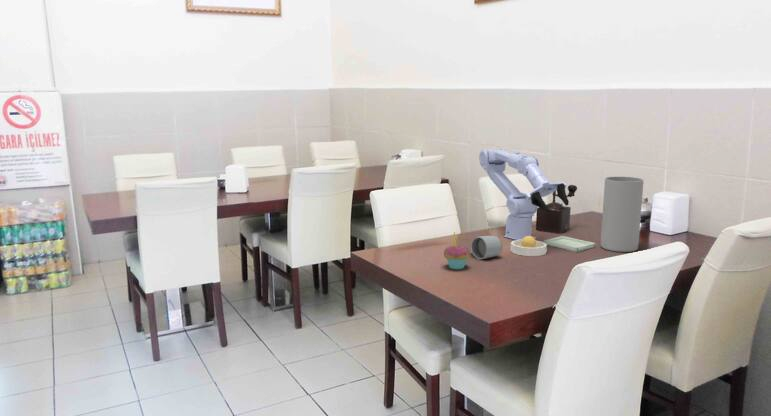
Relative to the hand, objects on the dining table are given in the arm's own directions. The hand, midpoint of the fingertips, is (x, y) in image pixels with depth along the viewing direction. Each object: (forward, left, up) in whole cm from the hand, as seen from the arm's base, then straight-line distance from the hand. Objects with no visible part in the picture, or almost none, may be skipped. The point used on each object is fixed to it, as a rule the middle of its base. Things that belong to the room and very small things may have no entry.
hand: (557, 206), depth 199 cm
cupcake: (-8, -40, -16) cm, 44 cm away
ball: (-6, -7, -13) cm, 16 cm away
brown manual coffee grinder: (-22, +30, -16) cm, 41 cm away
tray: (-2, +11, -16) cm, 20 cm away
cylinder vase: (+11, +22, -16) cm, 30 cm away
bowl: (-6, -7, -16) cm, 18 cm away
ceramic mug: (-11, -24, -16) cm, 31 cm away
